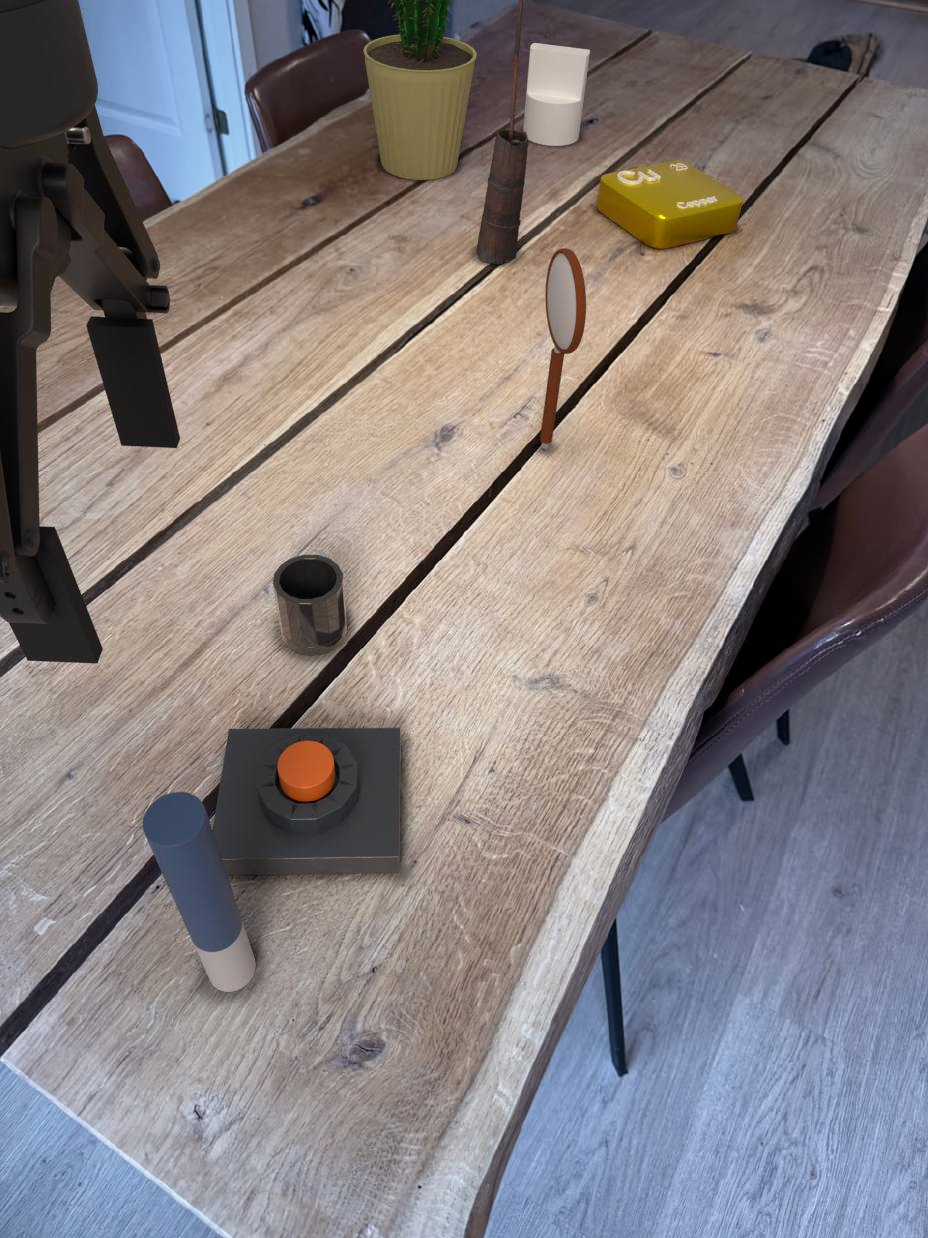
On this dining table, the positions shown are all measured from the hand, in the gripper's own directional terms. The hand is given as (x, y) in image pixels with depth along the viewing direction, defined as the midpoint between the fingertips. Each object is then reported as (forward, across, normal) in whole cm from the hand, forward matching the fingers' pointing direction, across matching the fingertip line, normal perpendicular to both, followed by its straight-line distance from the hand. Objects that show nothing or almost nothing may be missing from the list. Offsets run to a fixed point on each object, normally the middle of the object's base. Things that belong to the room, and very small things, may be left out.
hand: (113, 537), depth 40 cm
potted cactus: (+27, +111, -8) cm, 114 cm away
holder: (+27, +18, -4) cm, 33 cm away
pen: (+27, -9, -3) cm, 29 cm away
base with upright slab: (+27, +125, -29) cm, 131 cm away
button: (+23, +2, -6) cm, 24 cm away
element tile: (+27, +97, -43) cm, 109 cm away
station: (+27, +2, -6) cm, 28 cm away
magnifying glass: (+27, +44, -24) cm, 57 cm away
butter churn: (+27, +82, -20) cm, 89 cm away
